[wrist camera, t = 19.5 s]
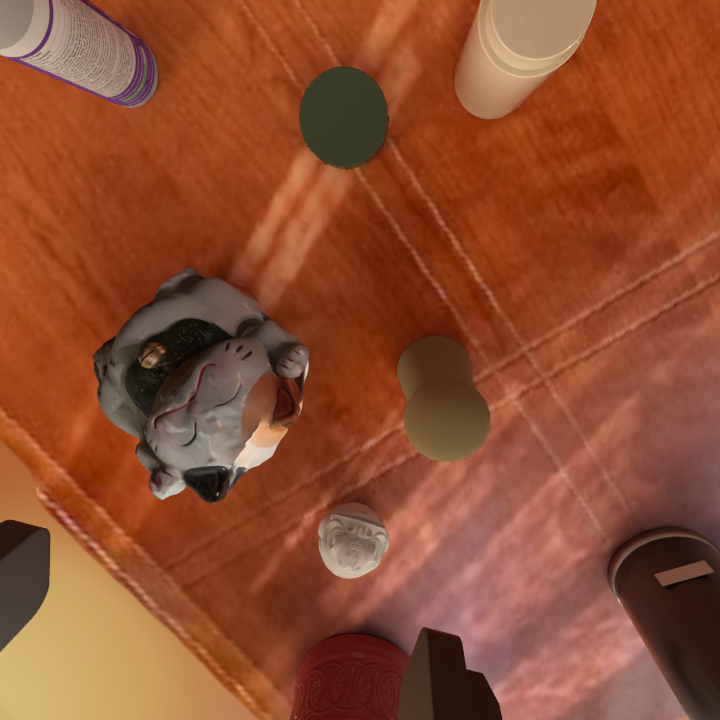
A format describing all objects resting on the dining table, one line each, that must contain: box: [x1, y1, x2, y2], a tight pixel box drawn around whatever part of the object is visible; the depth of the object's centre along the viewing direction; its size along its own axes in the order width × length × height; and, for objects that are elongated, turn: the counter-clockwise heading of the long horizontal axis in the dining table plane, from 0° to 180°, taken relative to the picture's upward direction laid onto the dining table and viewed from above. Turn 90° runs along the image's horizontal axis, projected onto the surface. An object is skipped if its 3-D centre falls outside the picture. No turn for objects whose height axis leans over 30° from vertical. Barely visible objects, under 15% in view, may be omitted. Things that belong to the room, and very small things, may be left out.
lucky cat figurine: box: [93, 268, 310, 503], centre depth 31 cm, size 15×12×14 cm
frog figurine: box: [318, 502, 389, 579], centre depth 37 cm, size 6×7×7 cm
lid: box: [300, 67, 389, 170], centre depth 30 cm, size 6×6×2 cm
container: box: [0, 0, 158, 108], centre depth 24 cm, size 5×5×15 cm
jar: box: [454, 0, 597, 119], centre depth 24 cm, size 5×5×10 cm
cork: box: [397, 335, 490, 462], centre depth 30 cm, size 6×6×11 cm
